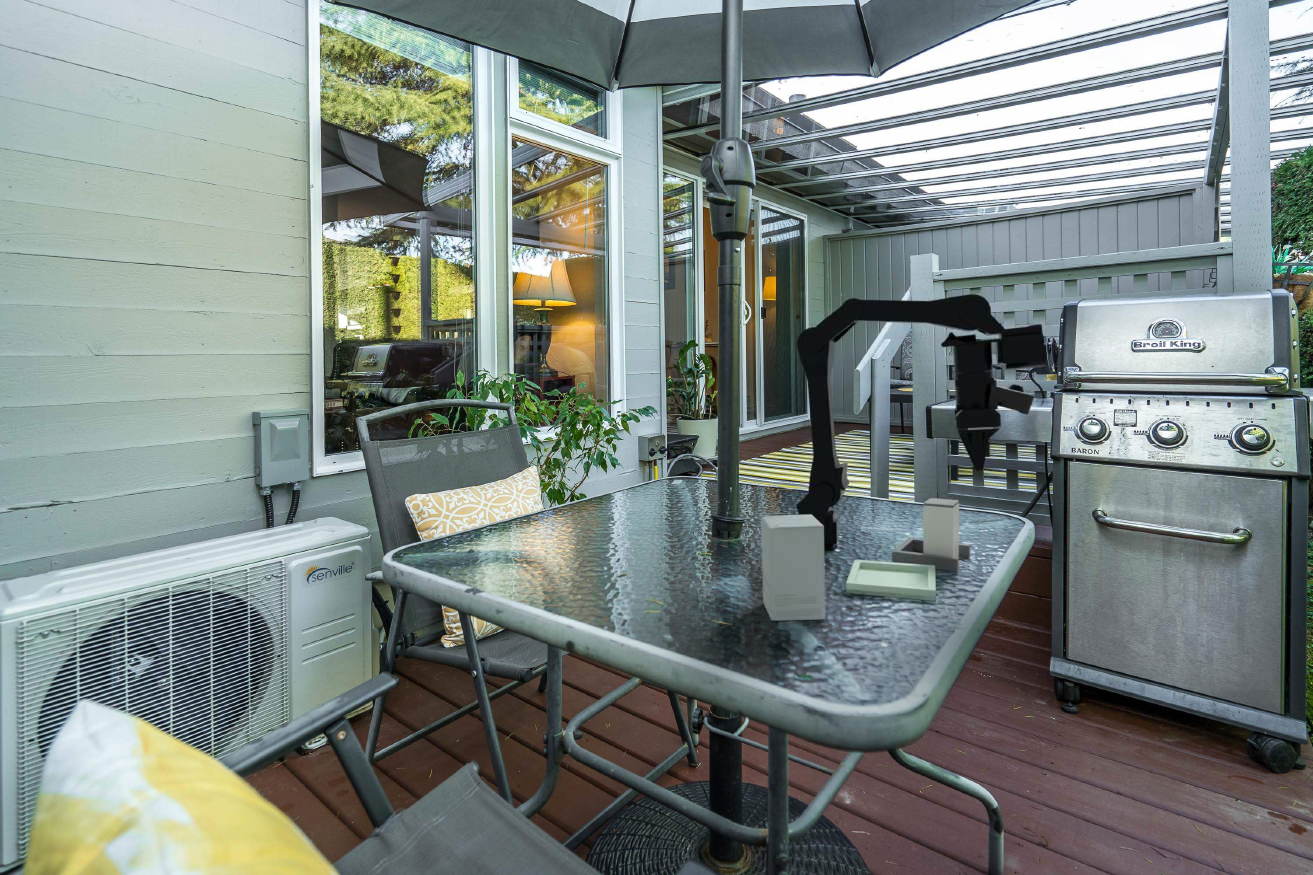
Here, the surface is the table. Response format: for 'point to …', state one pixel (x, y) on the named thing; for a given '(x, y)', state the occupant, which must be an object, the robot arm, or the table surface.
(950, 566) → the cradle
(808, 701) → the table surface
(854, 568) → the tray
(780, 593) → the supplement box
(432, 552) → the table surface
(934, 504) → the tall cream pillar
